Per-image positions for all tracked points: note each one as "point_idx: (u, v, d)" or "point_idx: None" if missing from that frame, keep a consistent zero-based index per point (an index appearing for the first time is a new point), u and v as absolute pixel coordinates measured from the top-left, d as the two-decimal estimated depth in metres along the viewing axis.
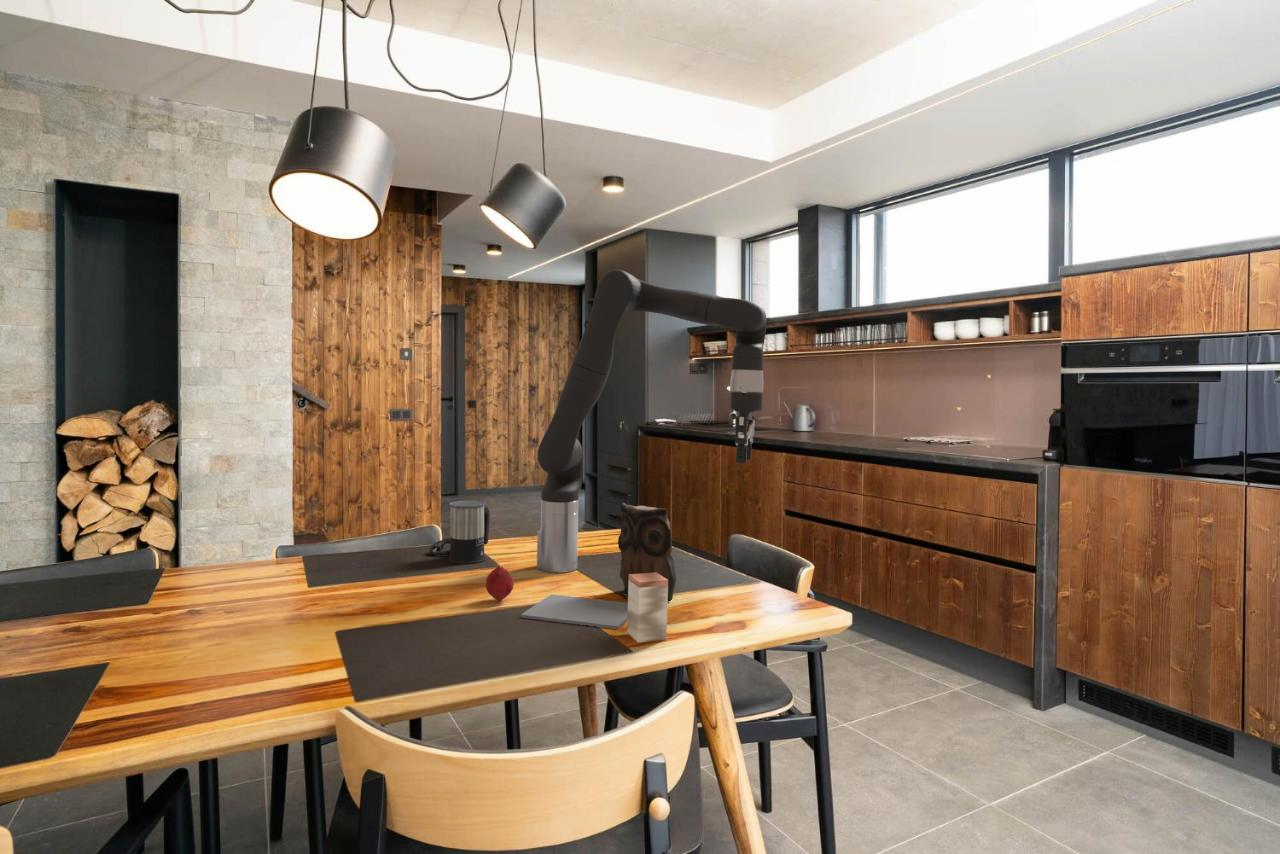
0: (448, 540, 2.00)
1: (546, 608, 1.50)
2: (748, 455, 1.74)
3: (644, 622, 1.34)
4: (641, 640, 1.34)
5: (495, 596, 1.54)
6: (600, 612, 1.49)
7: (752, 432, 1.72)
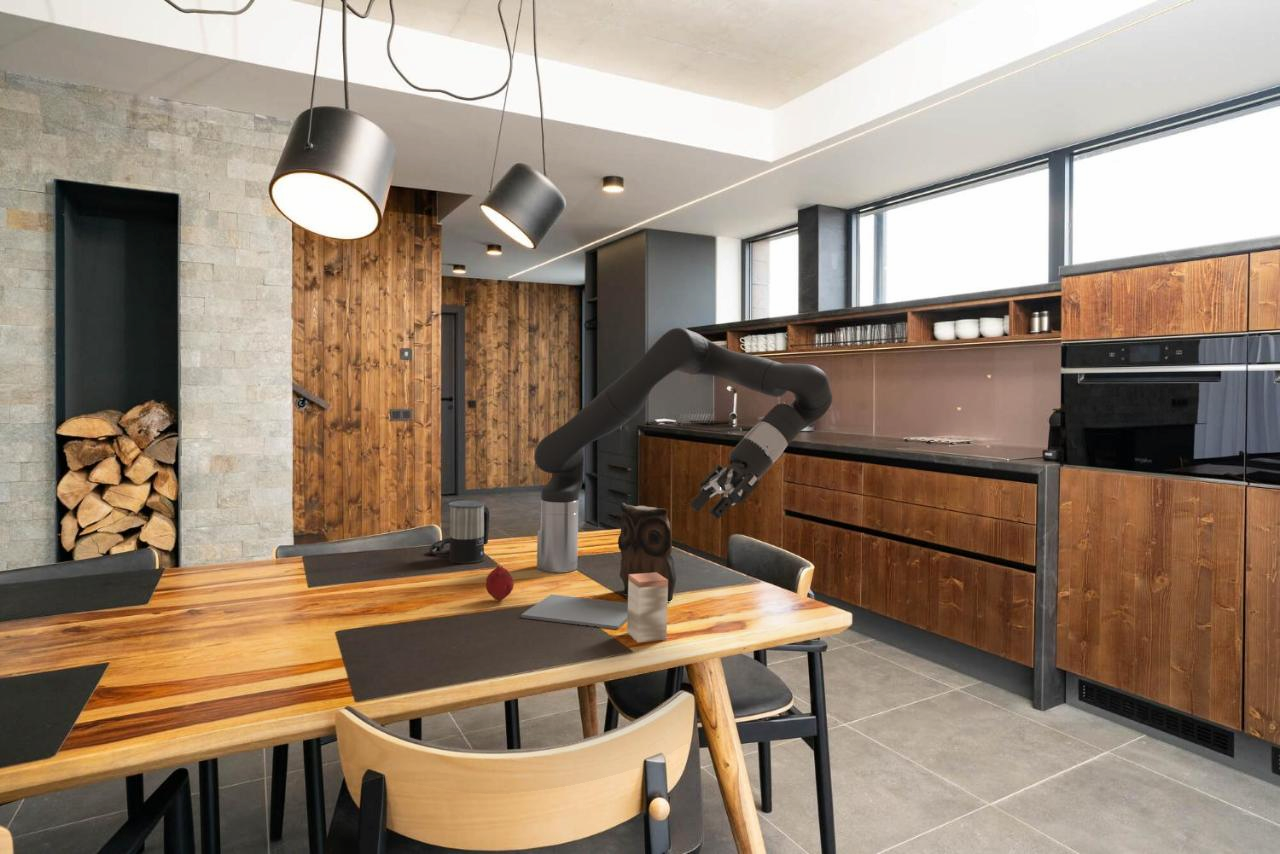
0: (448, 540, 2.00)
1: (546, 608, 1.50)
2: (699, 506, 1.44)
3: (644, 622, 1.34)
4: (641, 640, 1.34)
5: (495, 596, 1.54)
6: (600, 612, 1.49)
7: (724, 490, 1.44)
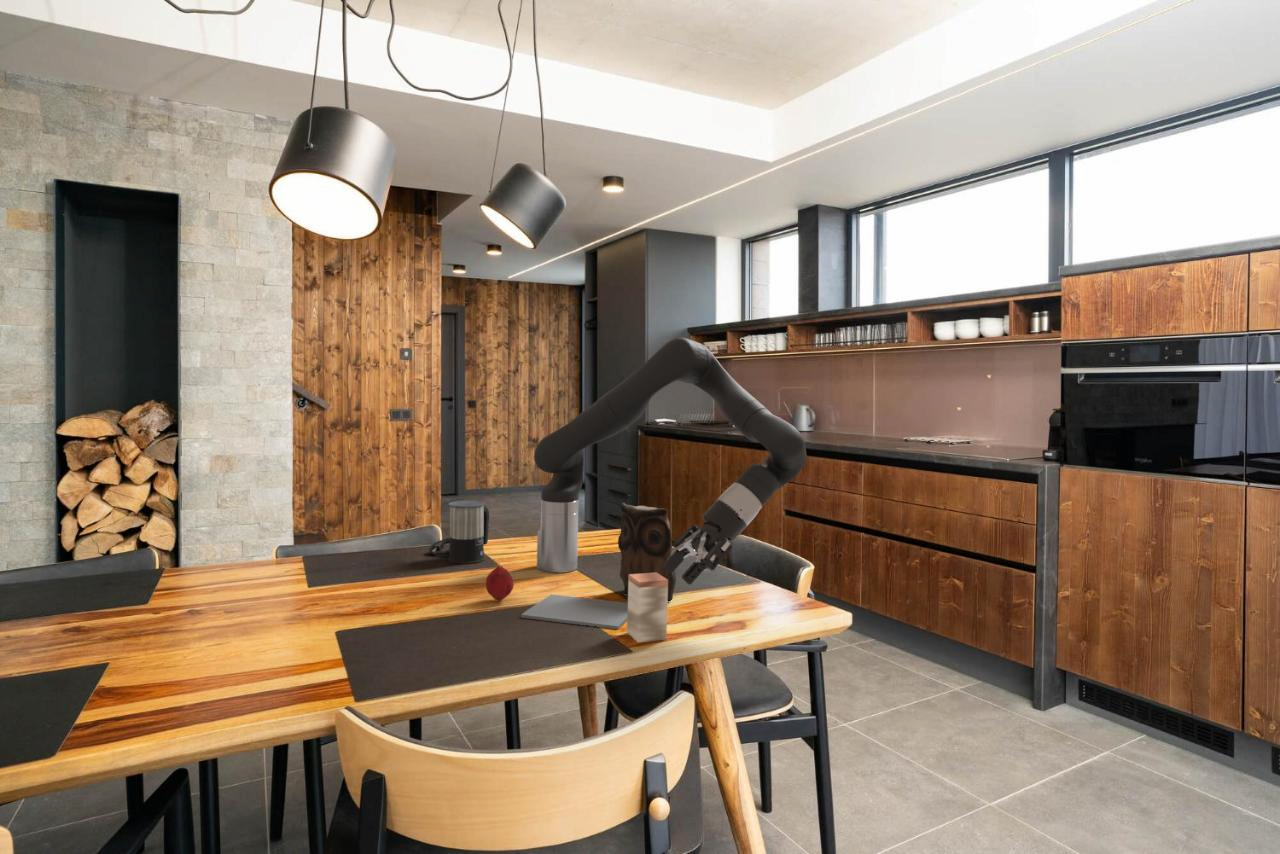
0: (448, 540, 2.00)
1: (546, 608, 1.50)
2: (673, 568, 1.43)
3: (644, 622, 1.34)
4: (641, 640, 1.34)
5: (495, 596, 1.54)
6: (600, 612, 1.49)
7: None
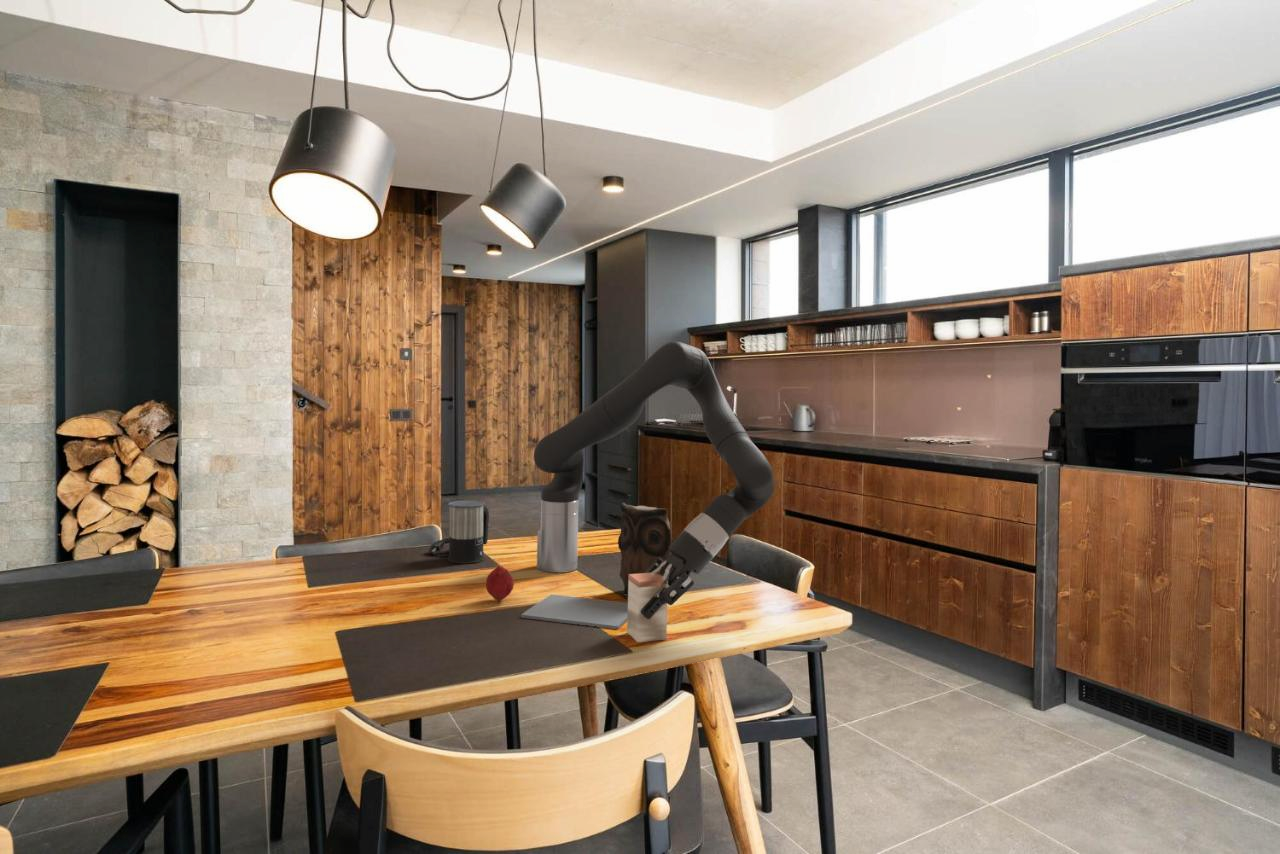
0: (447, 540, 2.00)
1: (546, 608, 1.50)
2: None
3: (644, 622, 1.34)
4: (641, 640, 1.34)
5: (495, 596, 1.54)
6: (600, 612, 1.49)
7: None
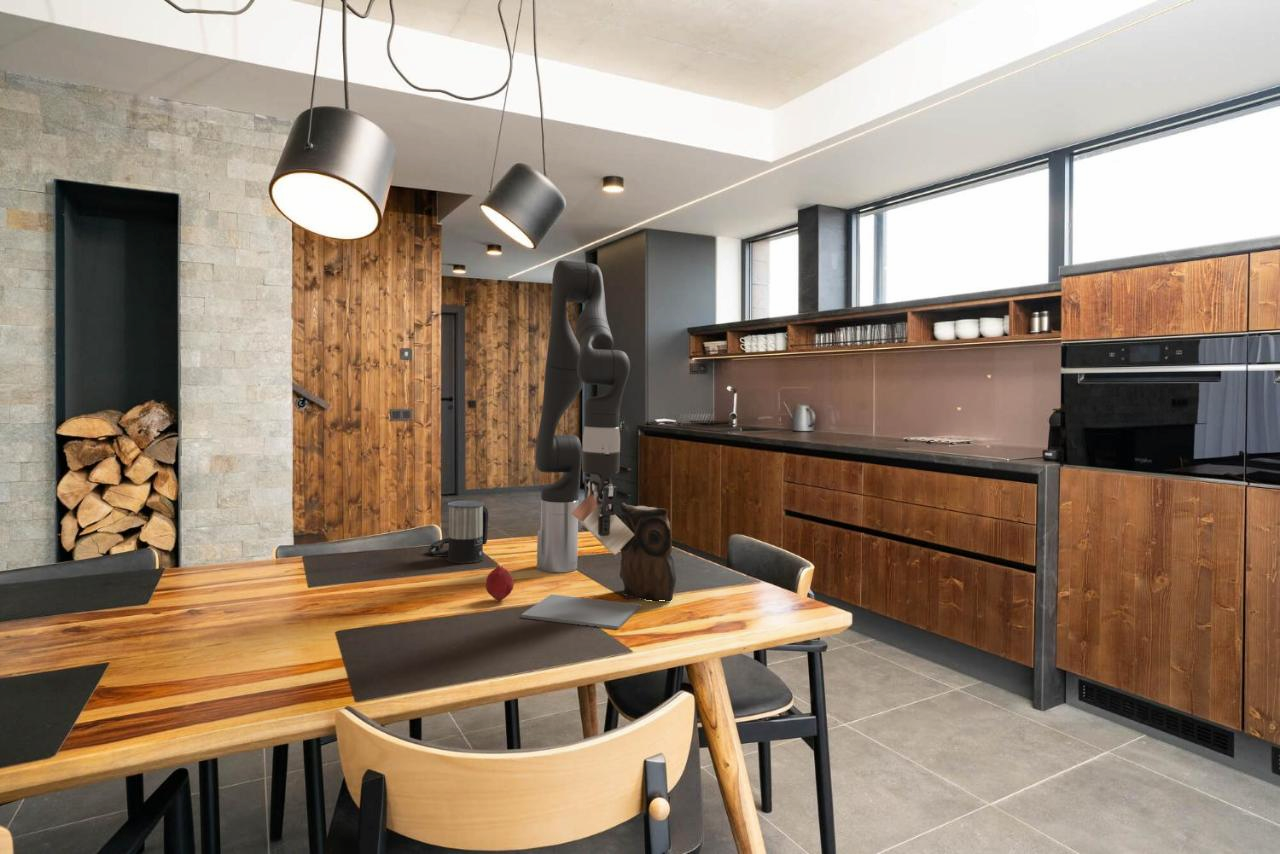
0: (447, 540, 2.00)
1: (546, 608, 1.50)
2: None
3: (608, 539, 1.48)
4: (617, 551, 1.49)
5: (495, 596, 1.54)
6: (600, 612, 1.49)
7: None
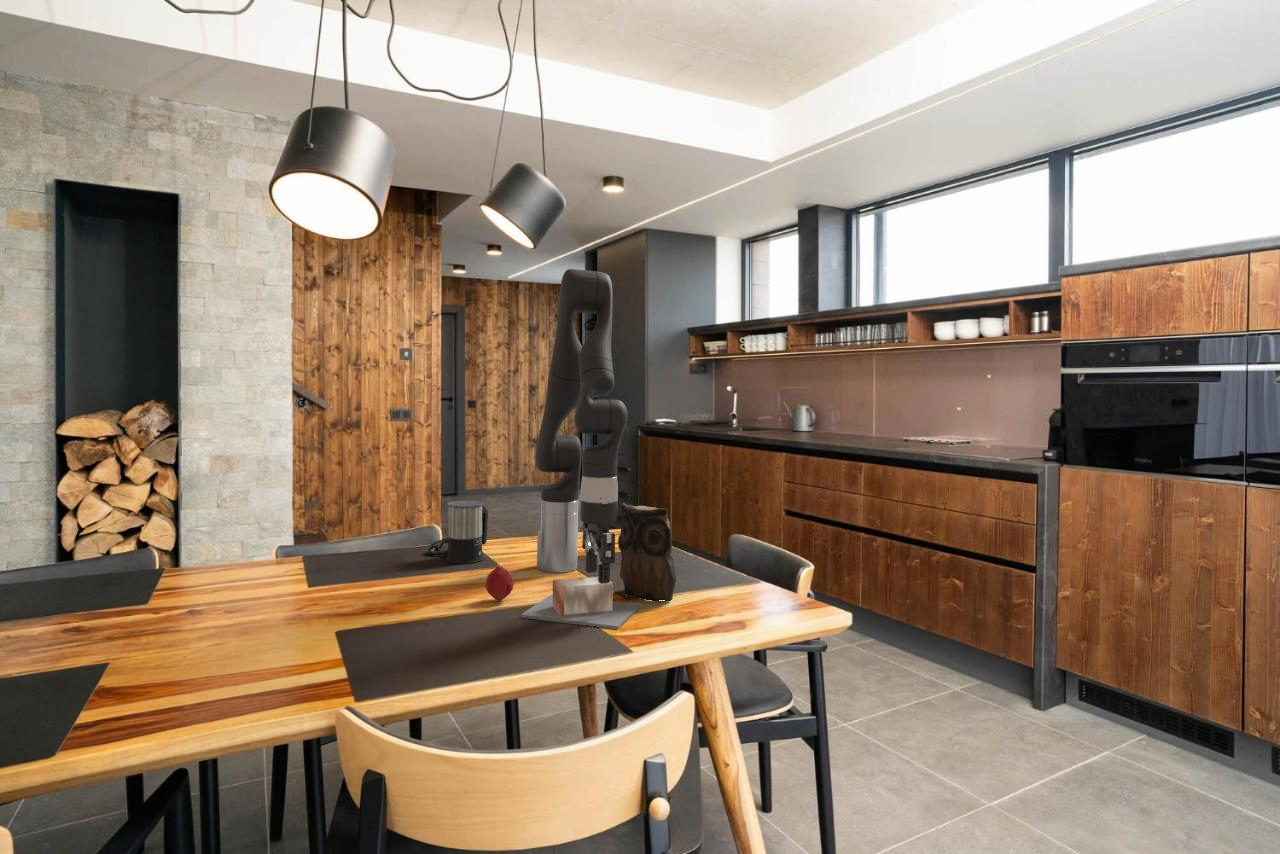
0: (446, 540, 2.00)
1: (546, 608, 1.50)
2: (594, 567, 1.55)
3: (596, 606, 1.49)
4: (611, 607, 1.50)
5: (495, 596, 1.54)
6: (600, 612, 1.49)
7: None
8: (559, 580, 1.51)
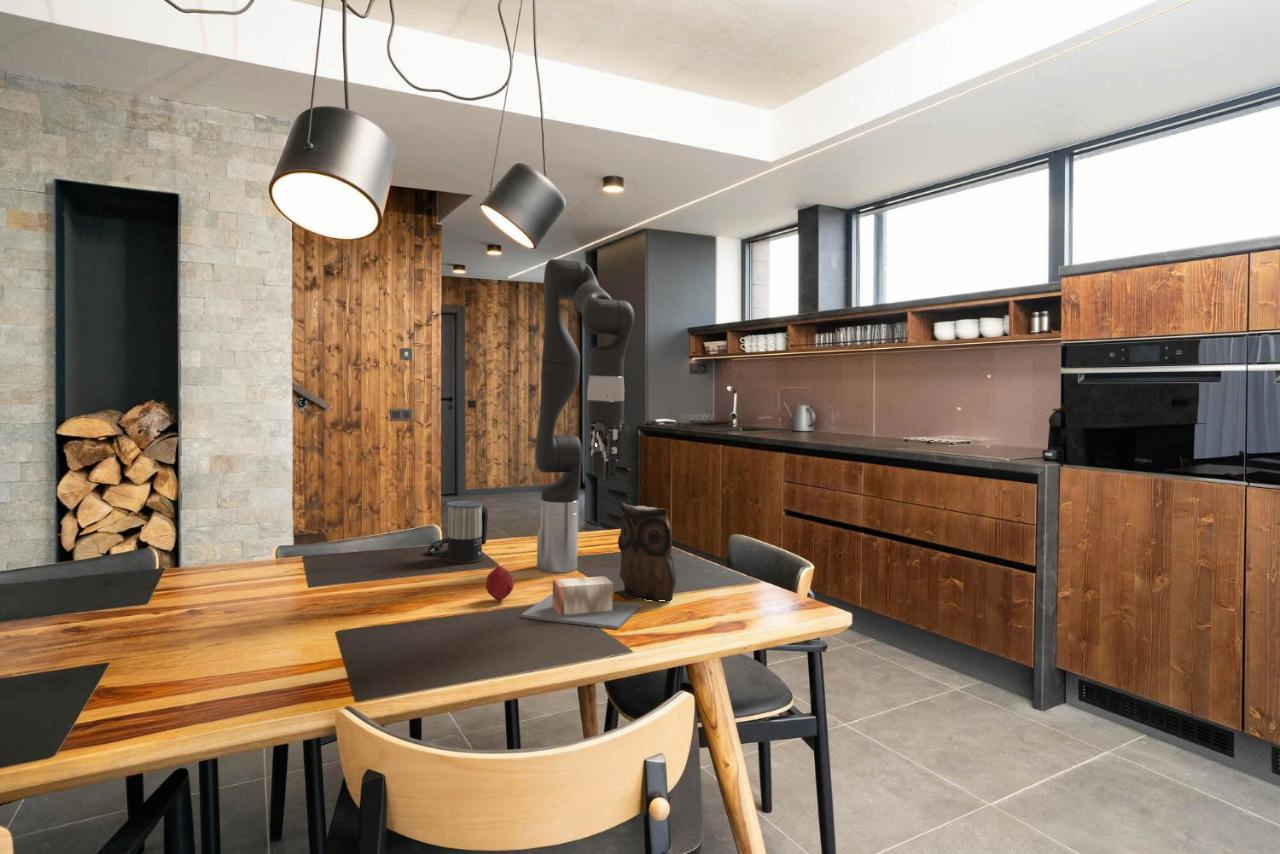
0: (446, 540, 2.00)
1: (546, 608, 1.50)
2: (600, 469, 1.57)
3: (596, 606, 1.49)
4: (611, 607, 1.50)
5: (495, 596, 1.54)
6: (600, 612, 1.49)
7: None
8: (559, 580, 1.51)
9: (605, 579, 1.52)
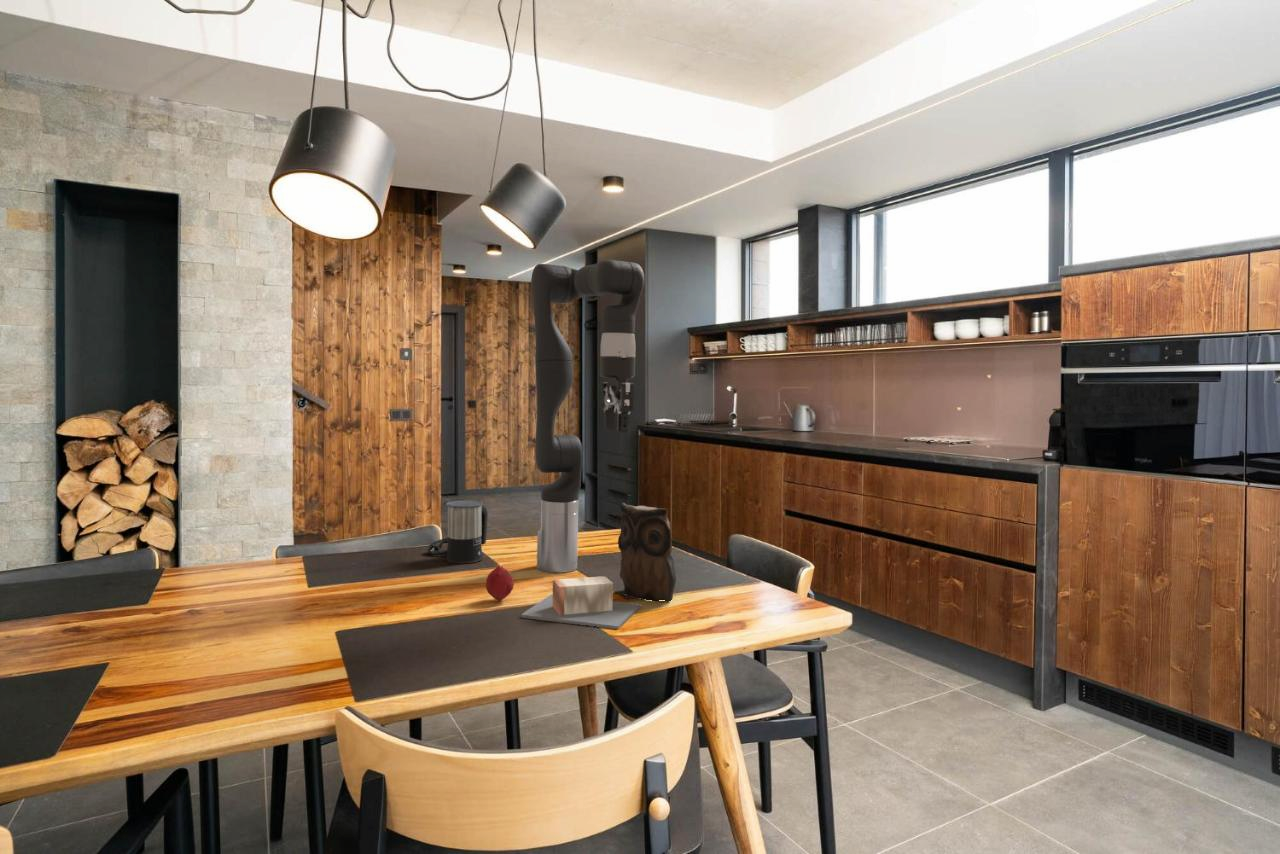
0: (446, 540, 2.00)
1: (546, 608, 1.50)
2: (612, 424, 1.64)
3: (596, 606, 1.49)
4: (611, 607, 1.50)
5: (495, 596, 1.54)
6: (600, 612, 1.49)
7: None
8: (559, 580, 1.51)
9: (605, 579, 1.52)
